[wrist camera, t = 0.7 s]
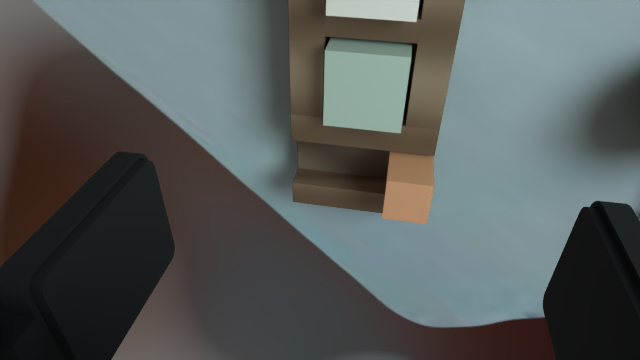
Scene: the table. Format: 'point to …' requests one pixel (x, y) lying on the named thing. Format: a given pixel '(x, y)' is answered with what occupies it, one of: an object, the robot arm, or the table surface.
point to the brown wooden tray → (357, 144)
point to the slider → (408, 187)
